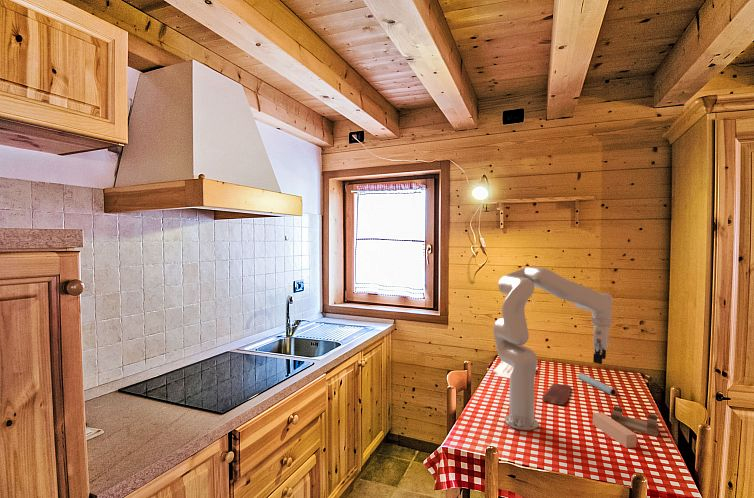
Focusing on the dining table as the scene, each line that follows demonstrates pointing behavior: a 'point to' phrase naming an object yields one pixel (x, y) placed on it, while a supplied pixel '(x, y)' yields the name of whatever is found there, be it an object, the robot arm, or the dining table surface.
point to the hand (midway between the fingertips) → (599, 360)
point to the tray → (504, 370)
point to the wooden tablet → (557, 394)
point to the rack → (636, 422)
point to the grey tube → (597, 384)
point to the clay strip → (615, 430)
